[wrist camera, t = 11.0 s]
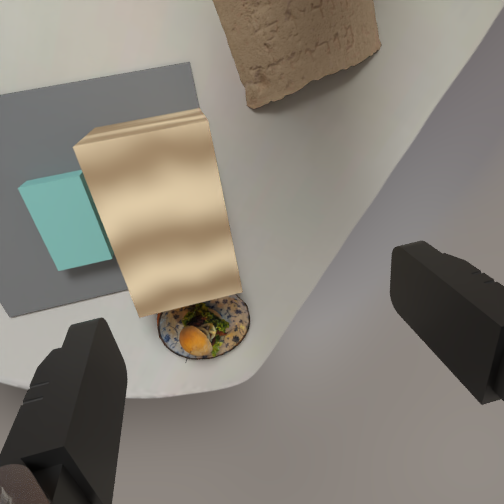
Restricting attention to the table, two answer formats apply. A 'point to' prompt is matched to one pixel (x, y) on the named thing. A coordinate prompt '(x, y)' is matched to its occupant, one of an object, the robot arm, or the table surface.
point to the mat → (63, 161)
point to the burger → (205, 327)
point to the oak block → (162, 209)
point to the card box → (67, 219)
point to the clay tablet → (295, 41)
